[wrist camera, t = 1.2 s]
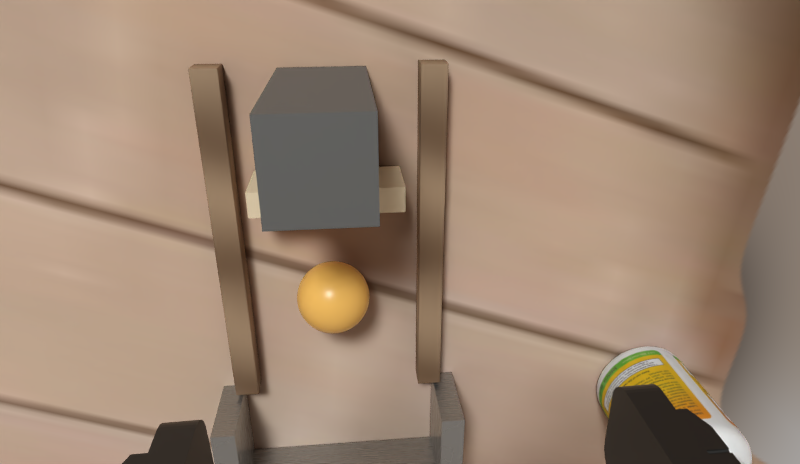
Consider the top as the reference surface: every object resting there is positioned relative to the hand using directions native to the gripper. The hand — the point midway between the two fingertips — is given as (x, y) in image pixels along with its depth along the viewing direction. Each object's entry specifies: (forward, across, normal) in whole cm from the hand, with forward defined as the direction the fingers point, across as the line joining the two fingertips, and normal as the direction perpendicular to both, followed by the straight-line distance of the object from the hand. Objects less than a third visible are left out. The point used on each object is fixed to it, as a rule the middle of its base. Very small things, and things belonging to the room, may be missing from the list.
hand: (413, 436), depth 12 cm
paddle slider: (+19, +2, -2) cm, 19 cm away
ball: (+17, +2, +7) cm, 19 cm away
